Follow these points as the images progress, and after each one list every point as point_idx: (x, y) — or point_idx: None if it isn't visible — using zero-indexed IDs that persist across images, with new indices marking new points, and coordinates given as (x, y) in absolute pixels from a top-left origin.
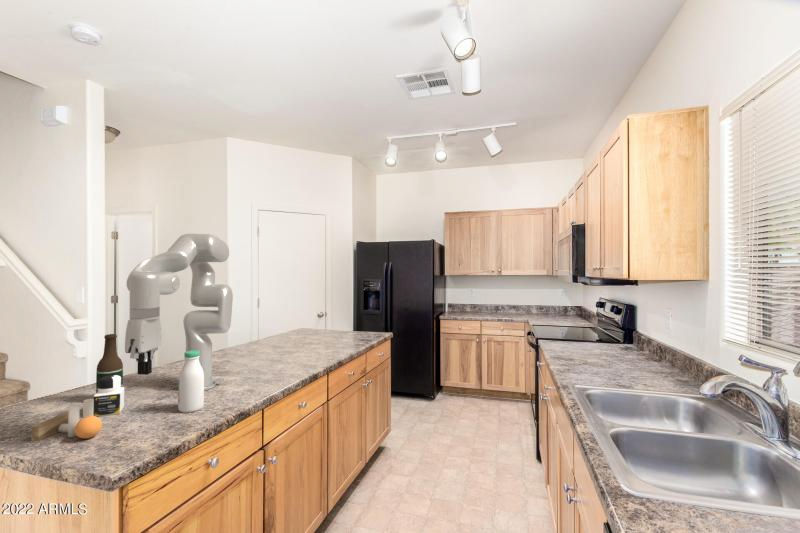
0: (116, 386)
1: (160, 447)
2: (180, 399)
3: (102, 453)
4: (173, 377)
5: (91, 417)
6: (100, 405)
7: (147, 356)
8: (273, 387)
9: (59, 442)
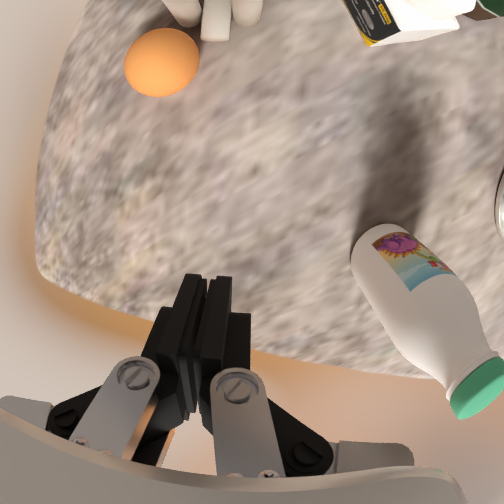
0: (422, 8)
1: (129, 297)
2: (372, 257)
3: (86, 186)
4: None
5: (146, 66)
6: None
7: (164, 454)
8: None
9: (145, 20)
